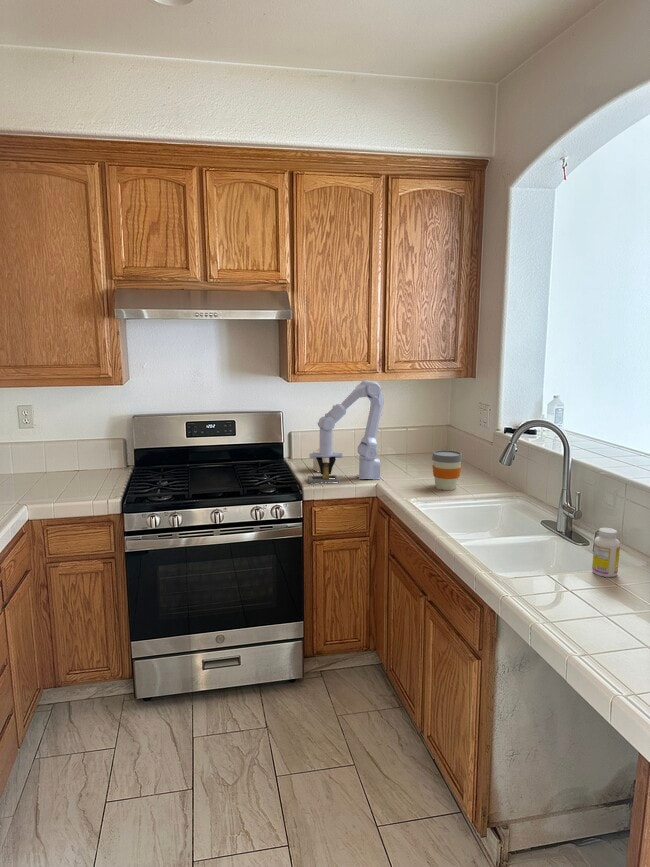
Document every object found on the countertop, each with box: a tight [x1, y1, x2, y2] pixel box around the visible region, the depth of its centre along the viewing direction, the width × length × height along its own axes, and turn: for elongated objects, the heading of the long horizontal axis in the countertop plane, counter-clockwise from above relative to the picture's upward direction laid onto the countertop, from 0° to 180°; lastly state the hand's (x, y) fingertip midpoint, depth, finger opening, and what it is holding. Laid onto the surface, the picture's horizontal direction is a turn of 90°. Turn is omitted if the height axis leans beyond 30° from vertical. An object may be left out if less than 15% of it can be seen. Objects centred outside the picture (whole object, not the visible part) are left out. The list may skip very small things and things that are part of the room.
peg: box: [321, 462, 330, 479], centre depth 272 cm, size 3×3×8 cm
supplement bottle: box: [591, 527, 621, 578], centre depth 173 cm, size 7×7×13 cm
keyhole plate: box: [307, 474, 340, 484], centre depth 272 cm, size 13×8×2 cm, turn 97°
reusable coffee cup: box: [431, 449, 463, 491], centre depth 262 cm, size 13×13×15 cm
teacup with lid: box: [312, 448, 329, 473], centre depth 292 cm, size 12×9×12 cm
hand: (325, 473), depth 272 cm, fingers closed on peg, 3 cm apart
